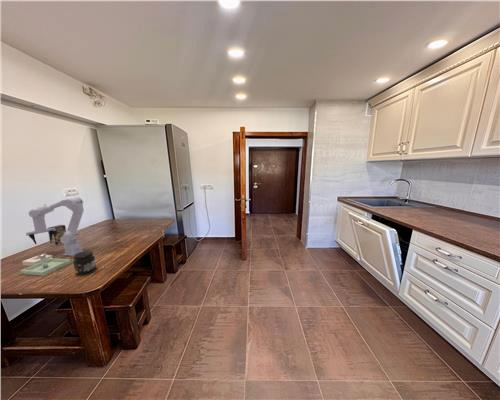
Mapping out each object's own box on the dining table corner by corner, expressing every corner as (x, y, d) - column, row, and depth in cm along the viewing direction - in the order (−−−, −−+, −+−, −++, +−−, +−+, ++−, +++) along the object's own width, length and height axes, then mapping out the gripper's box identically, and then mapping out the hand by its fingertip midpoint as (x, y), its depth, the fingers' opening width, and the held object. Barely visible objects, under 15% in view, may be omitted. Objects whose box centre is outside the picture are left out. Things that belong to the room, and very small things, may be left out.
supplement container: (74, 271, 118) (71, 253, 116) (95, 265, 125) (93, 248, 123) (75, 278, 111) (71, 259, 109) (97, 271, 118) (94, 253, 116)
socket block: (52, 259, 134) (52, 255, 133) (35, 266, 124) (34, 262, 124) (41, 258, 135) (40, 254, 135) (23, 265, 125) (22, 261, 125)
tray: (71, 262, 129) (70, 259, 128) (43, 276, 113) (42, 272, 112) (51, 261, 131) (50, 258, 130) (21, 274, 115) (20, 270, 114)
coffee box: (56, 246, 156) (52, 228, 153) (50, 245, 157) (46, 227, 154) (68, 242, 164) (65, 224, 162) (63, 241, 166) (59, 224, 163)
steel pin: (51, 265, 124) (48, 252, 123) (46, 268, 120) (43, 255, 119) (44, 266, 123) (41, 253, 122) (39, 269, 120) (35, 256, 118)
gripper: (53, 221, 144) (56, 238, 147) (24, 226, 133) (28, 243, 135) (54, 223, 140) (57, 240, 142) (24, 228, 129) (28, 246, 131)
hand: (43, 242), depth 139 cm, fingers open, 7 cm apart
